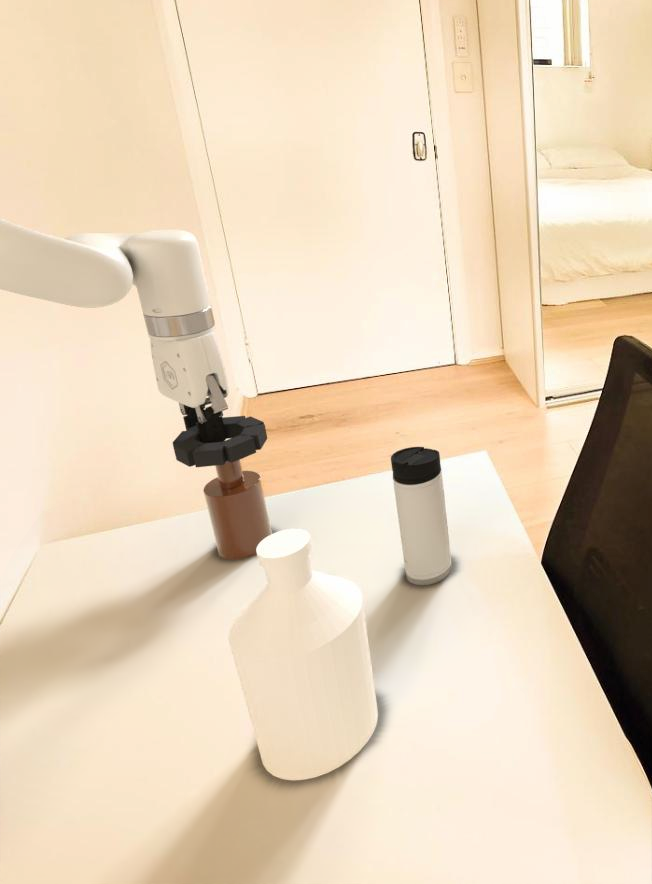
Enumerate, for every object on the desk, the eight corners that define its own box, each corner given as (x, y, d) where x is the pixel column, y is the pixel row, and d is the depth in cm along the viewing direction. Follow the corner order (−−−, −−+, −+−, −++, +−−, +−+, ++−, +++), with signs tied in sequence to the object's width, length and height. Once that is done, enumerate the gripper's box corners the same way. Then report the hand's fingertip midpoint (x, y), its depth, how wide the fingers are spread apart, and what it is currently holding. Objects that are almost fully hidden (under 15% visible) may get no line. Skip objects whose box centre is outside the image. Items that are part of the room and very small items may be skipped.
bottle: (248, 800, 68) (194, 597, 60) (268, 705, 78) (225, 520, 70) (379, 762, 72) (347, 567, 64) (382, 676, 83) (354, 498, 74)
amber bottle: (235, 566, 100) (211, 463, 94) (208, 550, 103) (183, 449, 97) (283, 540, 106) (263, 442, 100) (256, 526, 109) (235, 429, 103)
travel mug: (394, 581, 98) (377, 459, 91) (425, 553, 104) (411, 437, 97) (431, 592, 96) (416, 468, 89) (460, 563, 102) (449, 445, 95)
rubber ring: (204, 474, 92) (200, 458, 91) (163, 453, 96) (159, 438, 96) (280, 442, 101) (278, 428, 100) (239, 424, 105) (237, 410, 104)
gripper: (118, 317, 94) (149, 436, 101) (182, 341, 87) (211, 467, 94) (179, 304, 101) (205, 416, 107) (243, 325, 94) (266, 444, 100)
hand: (207, 439), depth 100 cm, fingers closed on rubber ring, 2 cm apart
